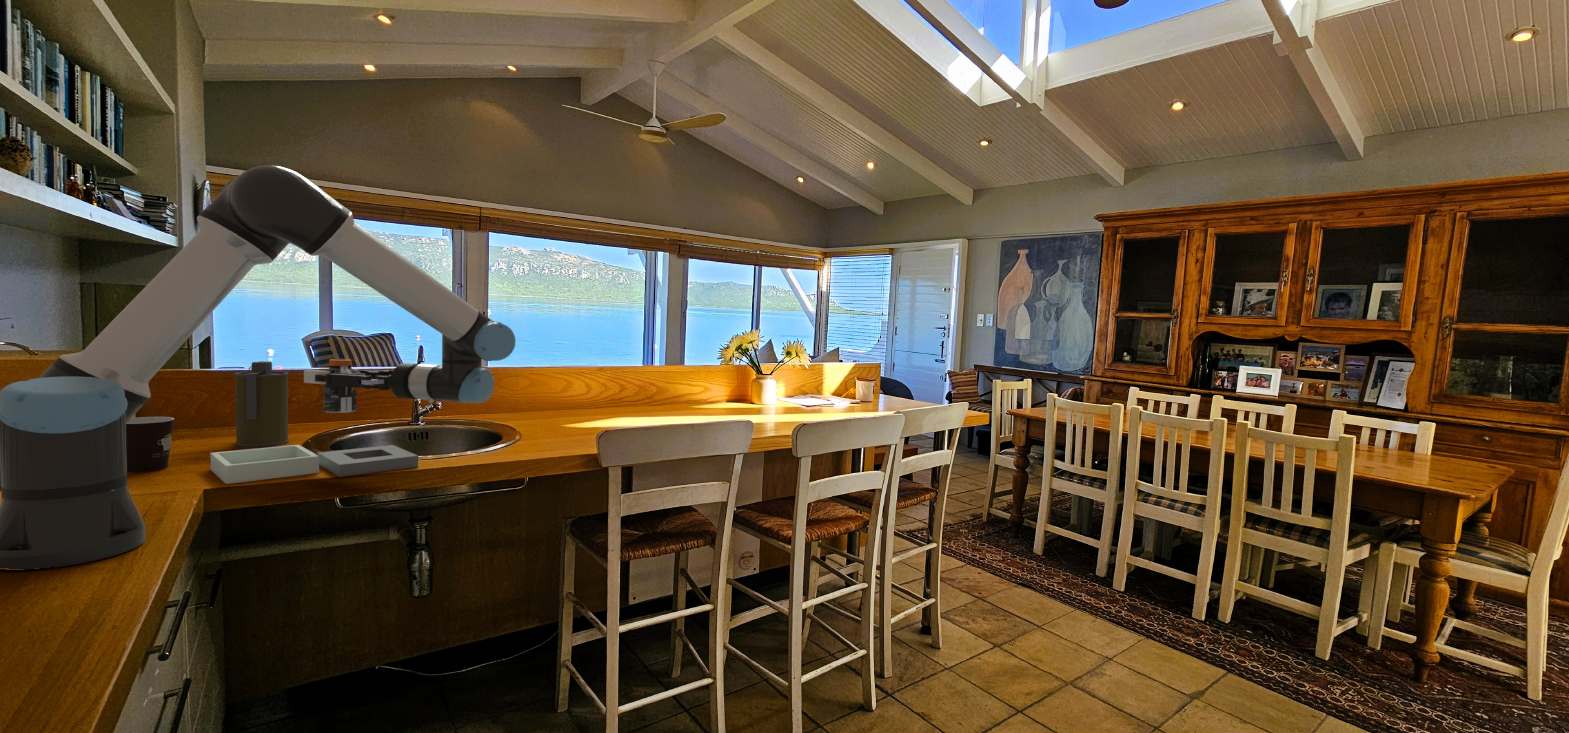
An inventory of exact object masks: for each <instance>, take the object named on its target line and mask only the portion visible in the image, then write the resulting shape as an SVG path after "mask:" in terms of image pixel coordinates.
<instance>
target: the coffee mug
mask: <svg viewBox="0 0 1569 733" xmlns="http://www.w3.org/2000/svg"><path fill="white" fill-rule="evenodd" d="M174 423H175V418H174V417H170V416H146V417H145V416H143V417H142V416H141V417H132V418H131V419H130V420H129V421H128V422H127V423H126V450H127V473H137V474H138V473H148V472H156V471H163V470H165V469H167V468H168V467H169V458H170V453H171V452H170V451H171V445H172V439H173V438H172V437H173V432H174V431H173V430H174Z"/></svg>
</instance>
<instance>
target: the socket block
mask: <svg viewBox="0 0 1569 733" xmlns="http://www.w3.org/2000/svg"><path fill="white" fill-rule="evenodd" d="M317 455H318V456H319V467H320V466H321V467H322V468H324V469H326V470H327V471H329V472H331V473H333V474H334V475H336V476H338V477H339V478H342V477H349V476H357V475H365V474H371V473H372V474H373V473H380V472H387V471H395V470H403V469H411V468H412V469H413V468H418V467H419V455H418V454H416V453H414V452H410V451H408V450H406V449H403V448H402V447H399V446H396V445H394V444H389V445H380V446H379V445H378V446H369V447H359V448H352V449H351V448H350V449H341V450H330V451H320V452H317Z"/></svg>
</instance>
